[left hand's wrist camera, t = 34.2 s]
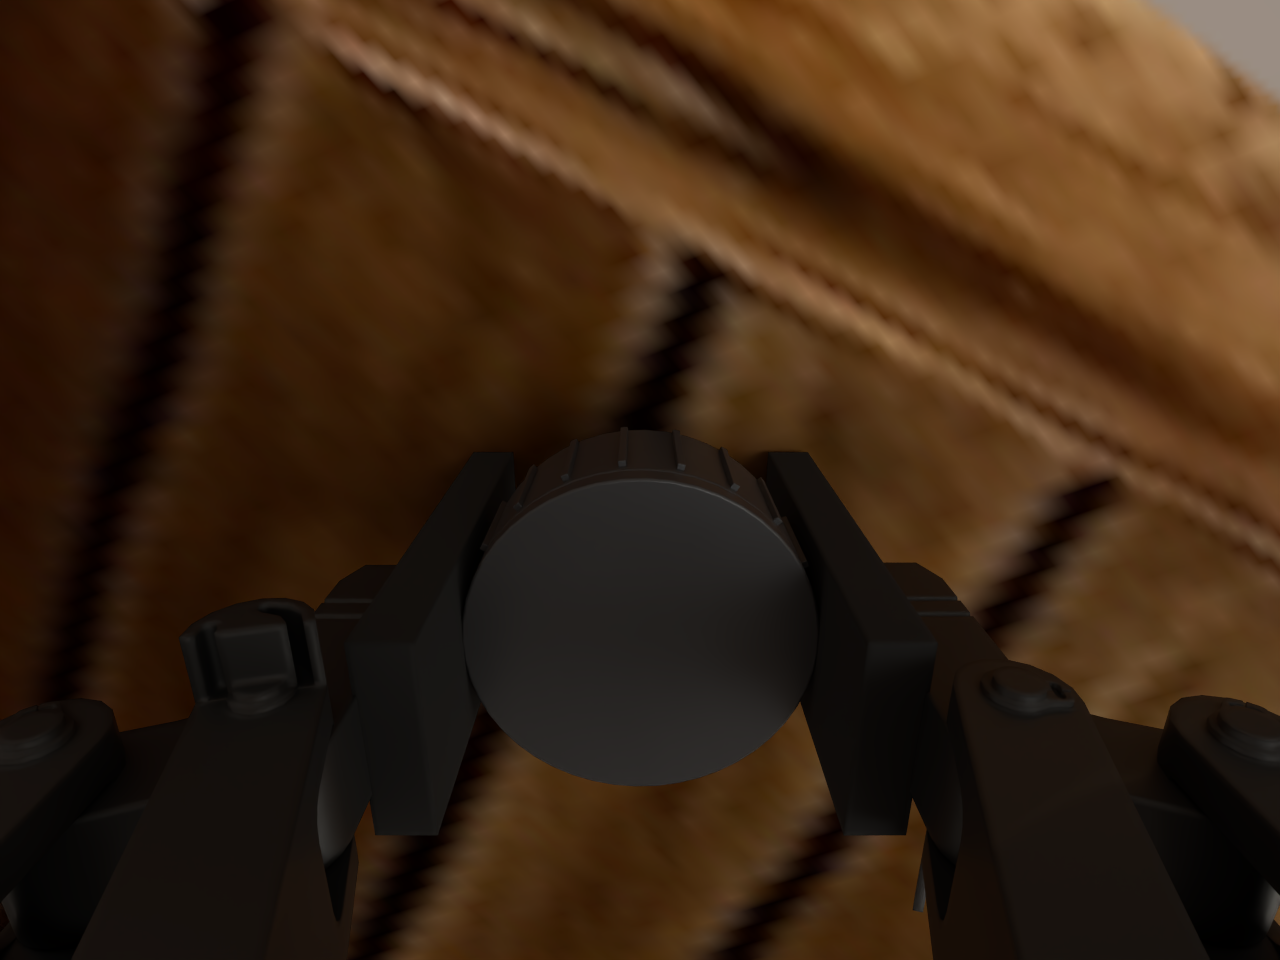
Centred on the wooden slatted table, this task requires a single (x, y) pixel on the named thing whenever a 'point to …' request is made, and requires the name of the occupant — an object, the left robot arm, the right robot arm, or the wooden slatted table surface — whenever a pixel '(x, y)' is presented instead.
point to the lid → (640, 611)
